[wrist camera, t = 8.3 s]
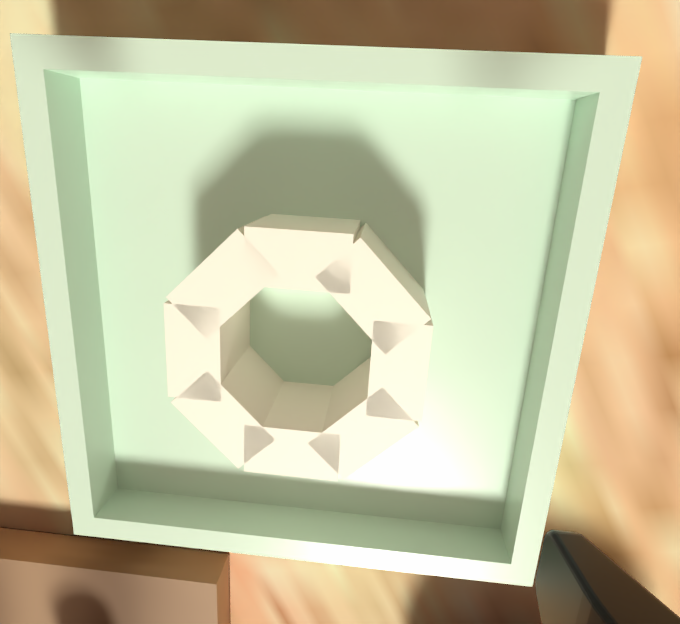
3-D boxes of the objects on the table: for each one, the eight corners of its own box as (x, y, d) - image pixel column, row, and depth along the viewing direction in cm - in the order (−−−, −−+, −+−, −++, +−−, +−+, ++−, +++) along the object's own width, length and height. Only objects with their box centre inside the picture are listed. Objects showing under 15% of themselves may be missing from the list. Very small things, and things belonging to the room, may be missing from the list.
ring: (207, 413, 17) (171, 463, 15) (202, 208, 15) (159, 220, 12) (409, 433, 17) (413, 489, 14) (433, 225, 15) (443, 240, 12)
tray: (107, 494, 20) (73, 534, 17) (62, 50, 15) (9, 33, 13) (516, 538, 18) (532, 586, 16) (604, 72, 14) (641, 56, 12)
